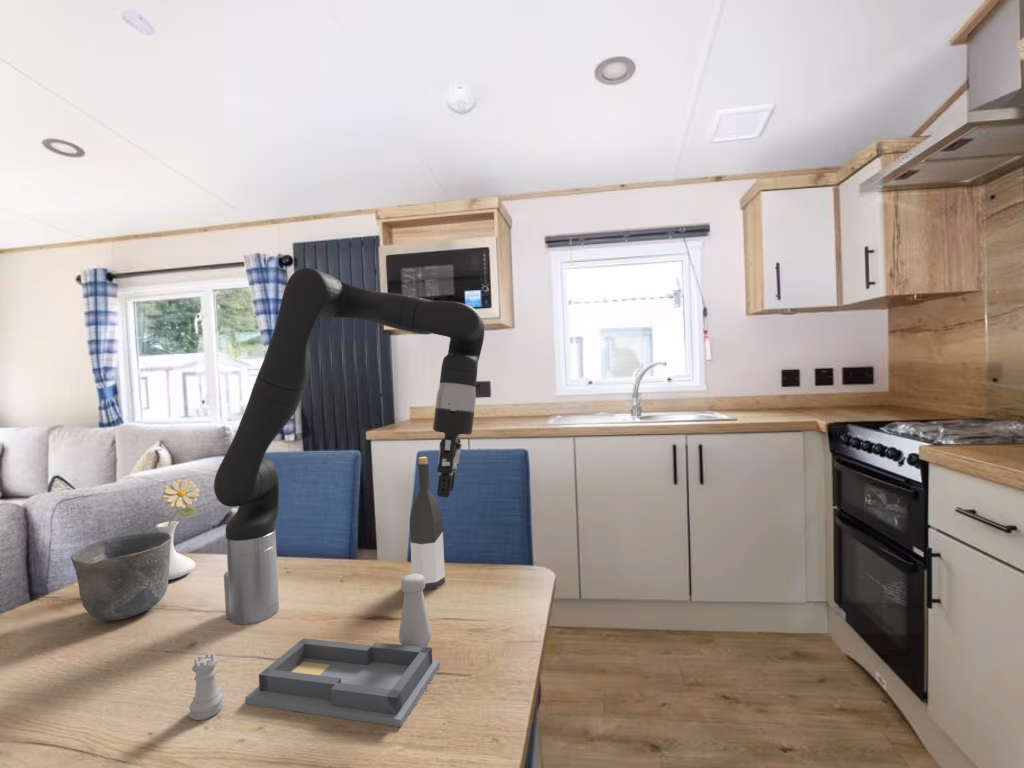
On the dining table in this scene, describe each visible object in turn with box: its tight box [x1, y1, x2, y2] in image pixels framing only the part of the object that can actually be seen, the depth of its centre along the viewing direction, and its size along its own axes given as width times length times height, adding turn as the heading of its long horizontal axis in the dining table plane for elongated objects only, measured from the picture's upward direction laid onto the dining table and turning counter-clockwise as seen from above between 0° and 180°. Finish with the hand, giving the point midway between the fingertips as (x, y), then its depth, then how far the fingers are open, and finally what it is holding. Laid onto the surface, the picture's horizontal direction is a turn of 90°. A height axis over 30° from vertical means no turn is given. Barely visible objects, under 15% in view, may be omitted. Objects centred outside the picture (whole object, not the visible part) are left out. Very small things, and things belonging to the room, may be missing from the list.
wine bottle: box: [409, 456, 446, 591], centre depth 113 cm, size 8×8×30 cm
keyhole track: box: [244, 637, 441, 728], centre depth 76 cm, size 26×14×4 cm, turn 76°
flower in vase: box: [154, 479, 200, 581], centre depth 124 cm, size 13×11×25 cm
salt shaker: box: [398, 573, 433, 648], centre depth 86 cm, size 6×6×13 cm
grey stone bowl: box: [70, 531, 172, 622], centre depth 105 cm, size 18×18×15 cm
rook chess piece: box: [188, 653, 225, 722], centre depth 71 cm, size 4×4×8 cm
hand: (445, 493), depth 90 cm, fingers open, 8 cm apart
